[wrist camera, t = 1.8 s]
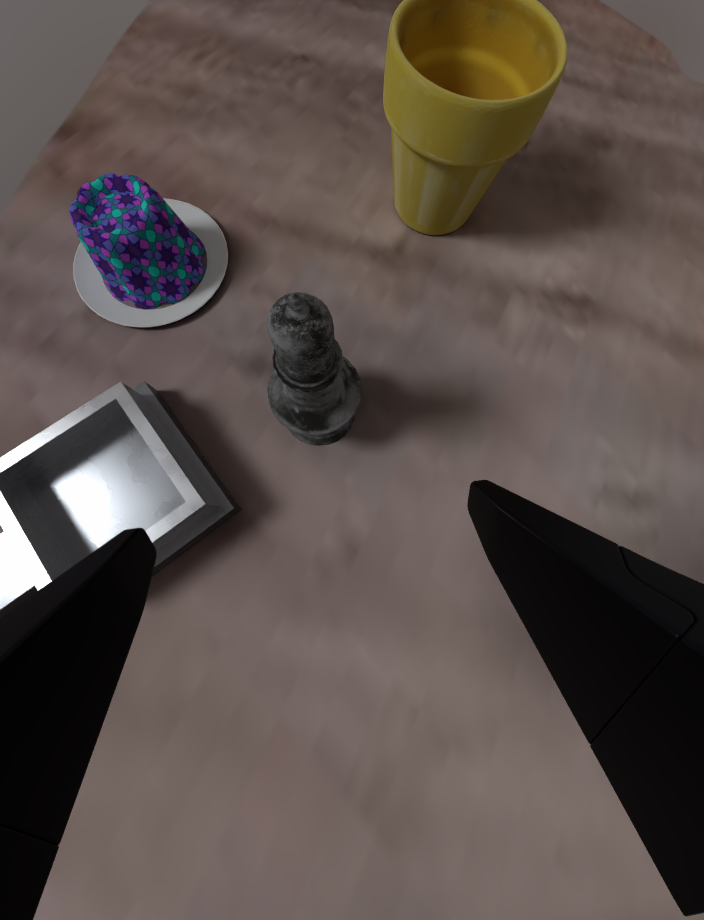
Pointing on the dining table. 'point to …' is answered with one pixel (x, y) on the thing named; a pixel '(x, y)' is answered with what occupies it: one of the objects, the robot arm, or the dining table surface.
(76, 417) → the square frying pan
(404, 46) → the plant pot
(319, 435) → the chess piece
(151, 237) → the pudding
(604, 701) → the robot arm
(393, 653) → the dining table surface
